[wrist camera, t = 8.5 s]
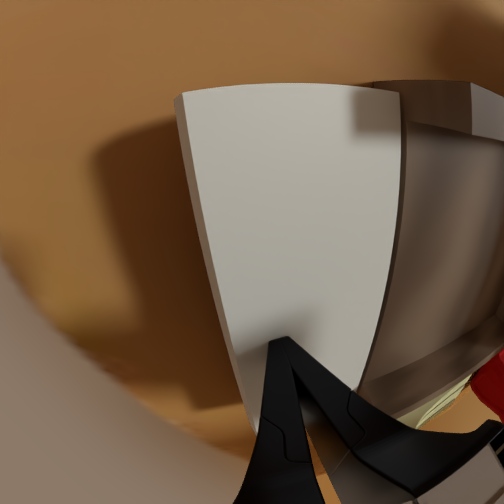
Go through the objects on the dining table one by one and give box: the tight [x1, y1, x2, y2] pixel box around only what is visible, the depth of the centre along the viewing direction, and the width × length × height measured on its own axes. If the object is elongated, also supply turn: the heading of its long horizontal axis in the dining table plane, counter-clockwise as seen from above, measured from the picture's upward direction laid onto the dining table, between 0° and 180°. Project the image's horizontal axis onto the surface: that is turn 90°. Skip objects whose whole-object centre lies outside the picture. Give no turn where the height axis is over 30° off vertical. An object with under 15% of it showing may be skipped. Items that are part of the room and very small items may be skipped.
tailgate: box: [174, 83, 401, 436], centre depth 11 cm, size 2×17×7 cm
